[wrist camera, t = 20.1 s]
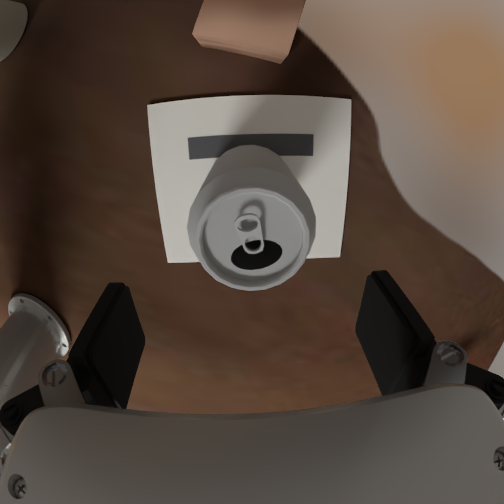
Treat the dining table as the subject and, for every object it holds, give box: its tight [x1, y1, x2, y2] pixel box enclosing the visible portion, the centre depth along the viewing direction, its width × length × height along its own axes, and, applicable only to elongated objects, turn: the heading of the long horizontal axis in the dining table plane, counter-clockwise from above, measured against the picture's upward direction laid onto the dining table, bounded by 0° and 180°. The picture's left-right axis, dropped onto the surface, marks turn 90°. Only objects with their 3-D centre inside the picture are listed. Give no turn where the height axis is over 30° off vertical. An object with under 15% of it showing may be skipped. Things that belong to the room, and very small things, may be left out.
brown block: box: [192, 0, 306, 64], centre depth 17 cm, size 7×7×5 cm
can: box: [187, 145, 316, 291], centre depth 20 cm, size 8×8×12 cm
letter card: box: [147, 95, 351, 263], centre depth 26 cm, size 16×18×1 cm
